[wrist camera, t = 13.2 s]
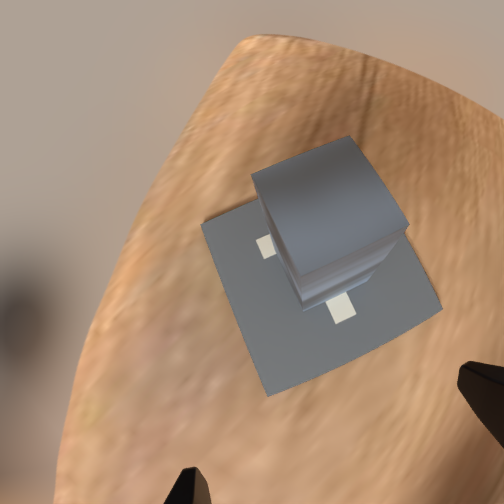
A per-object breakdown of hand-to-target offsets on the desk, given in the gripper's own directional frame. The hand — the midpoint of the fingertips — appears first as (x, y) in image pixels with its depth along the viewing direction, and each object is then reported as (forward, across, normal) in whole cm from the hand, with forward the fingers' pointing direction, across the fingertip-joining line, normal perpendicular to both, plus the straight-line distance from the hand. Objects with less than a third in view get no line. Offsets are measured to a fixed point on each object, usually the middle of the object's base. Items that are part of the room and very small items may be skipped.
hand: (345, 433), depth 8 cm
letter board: (+15, -5, 0) cm, 15 cm away
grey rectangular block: (+14, -4, 0) cm, 15 cm away
